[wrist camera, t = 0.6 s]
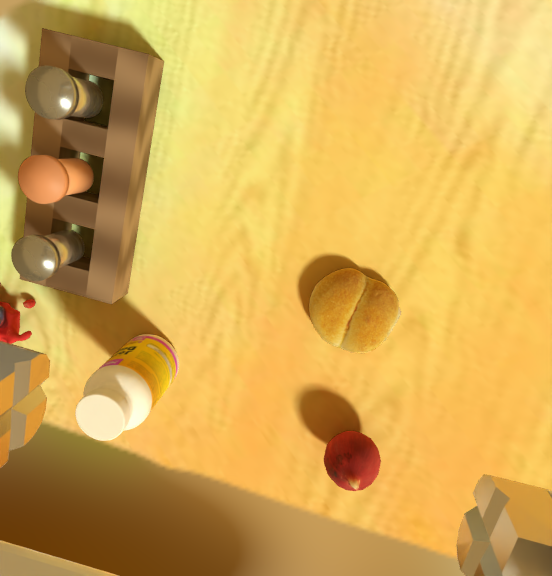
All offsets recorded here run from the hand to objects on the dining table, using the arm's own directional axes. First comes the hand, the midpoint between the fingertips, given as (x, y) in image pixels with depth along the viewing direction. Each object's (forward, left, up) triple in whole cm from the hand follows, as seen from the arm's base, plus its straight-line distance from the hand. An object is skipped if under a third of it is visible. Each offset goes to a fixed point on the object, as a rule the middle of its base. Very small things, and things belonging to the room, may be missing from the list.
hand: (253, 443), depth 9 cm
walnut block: (+3, -23, -43) cm, 49 cm away
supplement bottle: (+22, -14, -43) cm, 51 cm away
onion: (+25, +10, -43) cm, 51 cm away
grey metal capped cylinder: (-4, -23, -39) cm, 46 cm away
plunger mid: (+3, -23, -39) cm, 46 cm away
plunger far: (+10, -23, -39) cm, 47 cm away
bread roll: (+10, +6, -43) cm, 45 cm away
